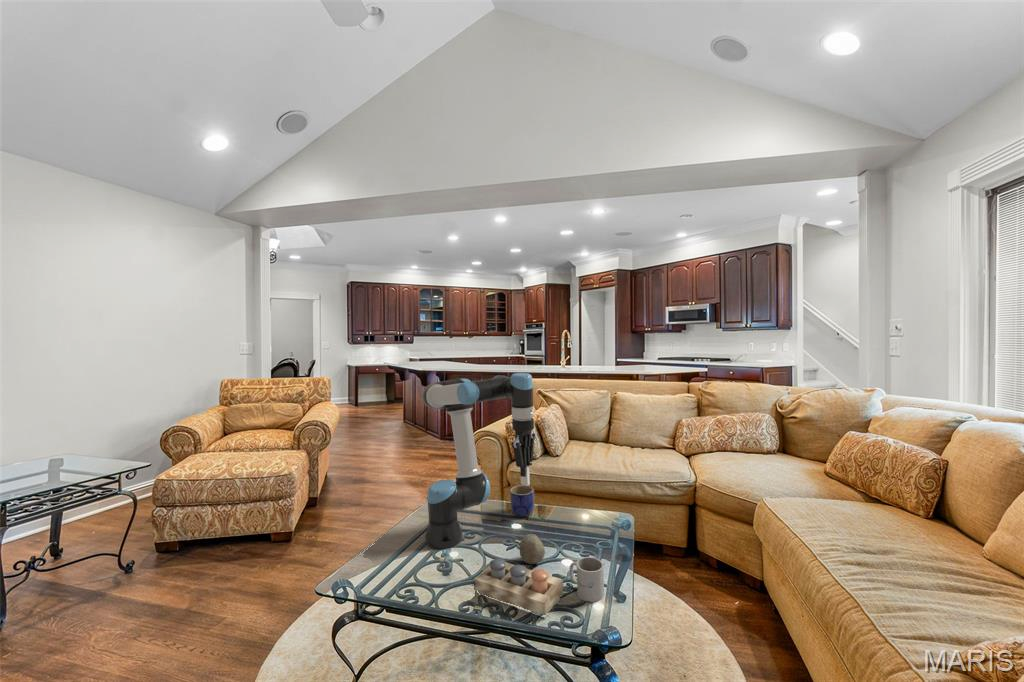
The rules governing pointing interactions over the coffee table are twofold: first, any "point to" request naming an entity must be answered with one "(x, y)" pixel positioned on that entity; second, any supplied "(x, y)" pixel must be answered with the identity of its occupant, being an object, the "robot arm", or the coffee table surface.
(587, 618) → the coffee table surface
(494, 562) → the slate plug
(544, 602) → the block
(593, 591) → the mug
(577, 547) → the coffee table surface
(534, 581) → the terracotta plug
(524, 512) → the planter
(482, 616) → the coffee table surface
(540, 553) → the decorative stone
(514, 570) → the slate plug
